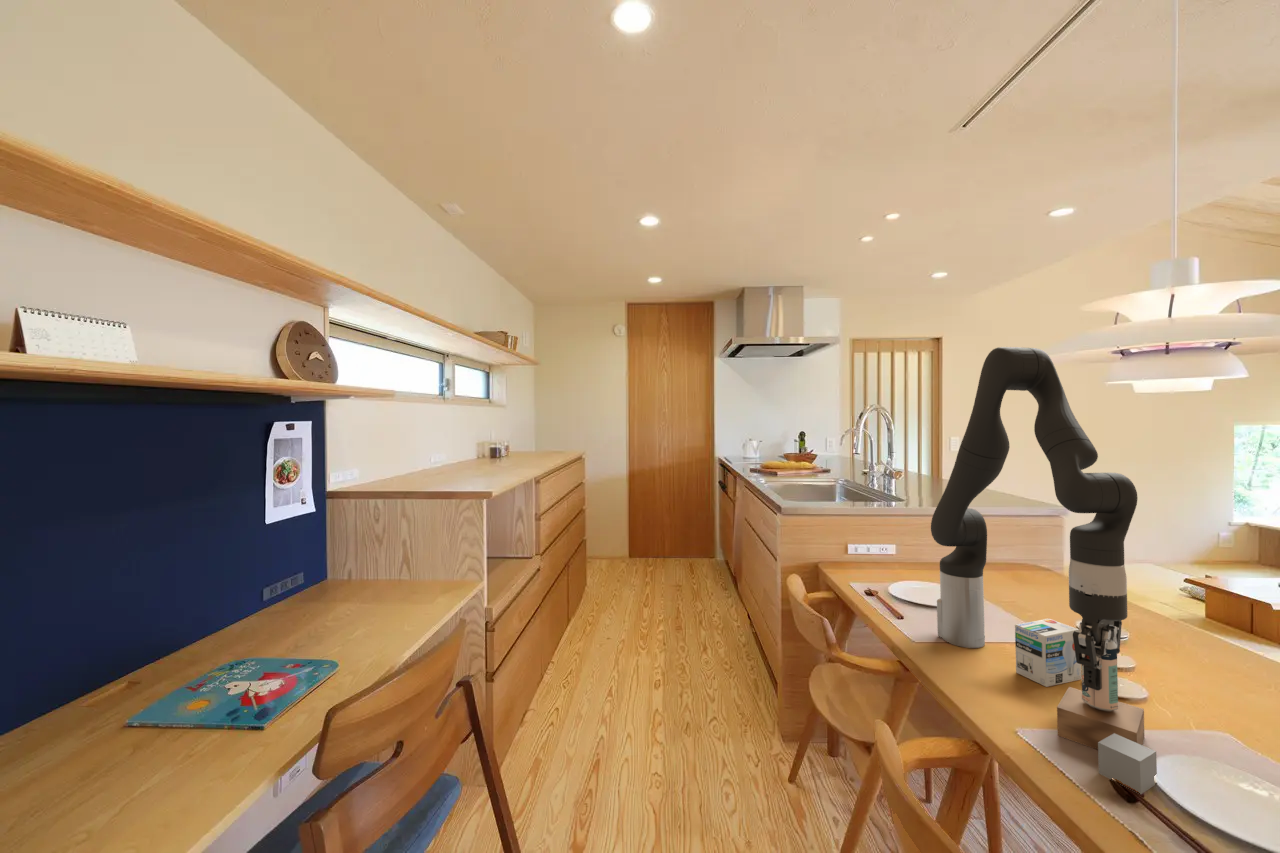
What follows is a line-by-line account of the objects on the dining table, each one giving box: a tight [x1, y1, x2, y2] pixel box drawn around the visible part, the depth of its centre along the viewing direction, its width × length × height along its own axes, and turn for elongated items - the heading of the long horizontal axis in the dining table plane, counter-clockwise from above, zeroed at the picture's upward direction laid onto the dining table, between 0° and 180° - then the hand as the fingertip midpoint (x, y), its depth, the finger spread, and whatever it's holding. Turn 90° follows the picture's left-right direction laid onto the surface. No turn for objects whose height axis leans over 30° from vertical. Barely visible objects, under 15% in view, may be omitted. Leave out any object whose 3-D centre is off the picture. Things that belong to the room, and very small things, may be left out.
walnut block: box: [1056, 686, 1145, 751], centre depth 87 cm, size 10×10×5 cm
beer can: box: [1081, 639, 1119, 711], centre depth 87 cm, size 5×5×12 cm
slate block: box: [1097, 733, 1158, 795], centre depth 77 cm, size 5×5×5 cm
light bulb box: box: [1014, 618, 1082, 688], centre depth 108 cm, size 11×7×11 cm, turn 106°
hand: (1098, 683), depth 87 cm, fingers closed on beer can, 4 cm apart
